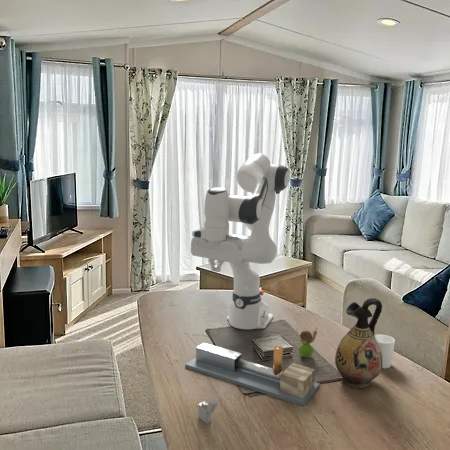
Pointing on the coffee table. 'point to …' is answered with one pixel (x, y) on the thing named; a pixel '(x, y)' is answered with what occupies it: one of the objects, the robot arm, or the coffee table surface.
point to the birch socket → (297, 380)
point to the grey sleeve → (217, 356)
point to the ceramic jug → (360, 347)
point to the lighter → (206, 410)
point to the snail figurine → (307, 343)
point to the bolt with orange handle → (263, 370)
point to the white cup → (386, 348)
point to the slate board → (251, 381)
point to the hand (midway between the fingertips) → (215, 271)
